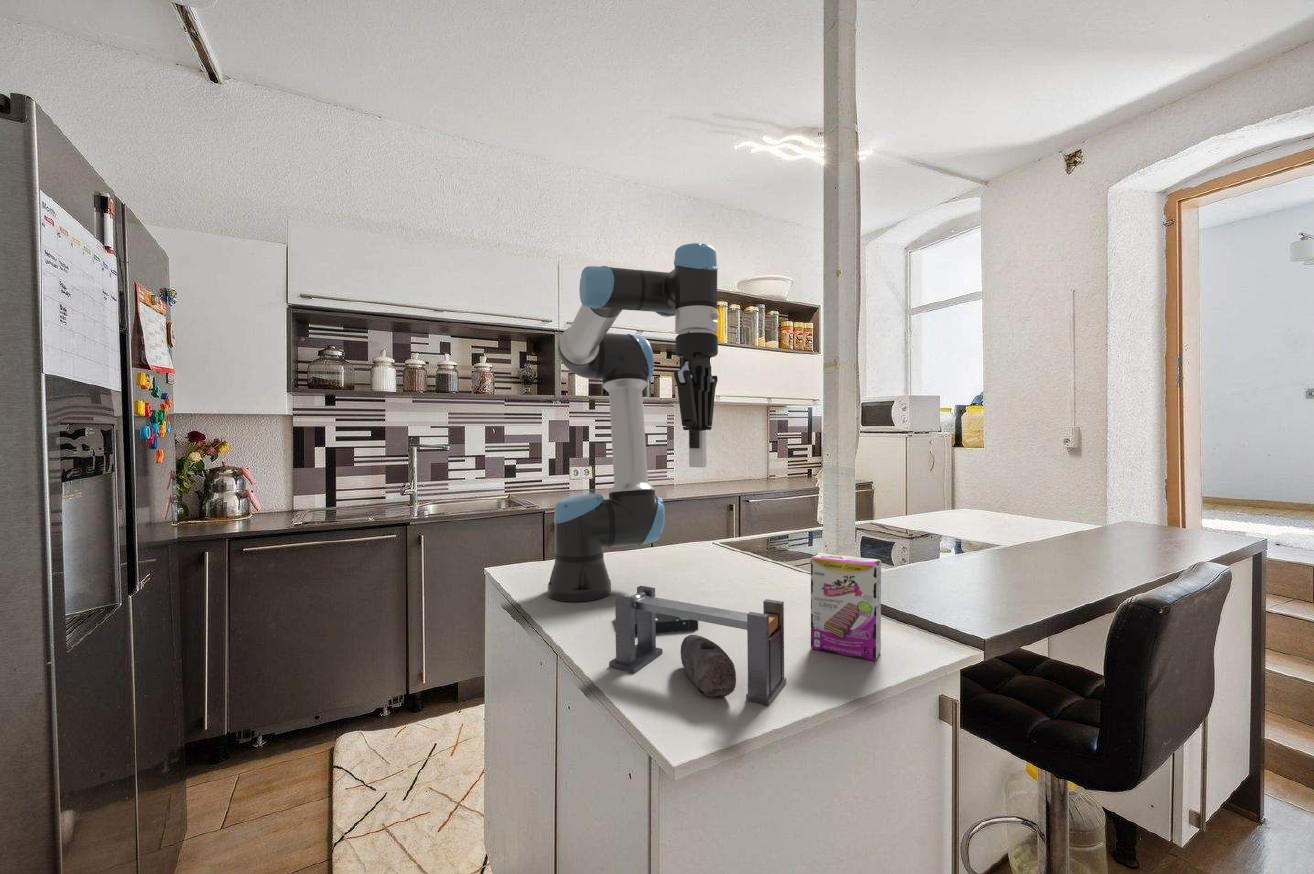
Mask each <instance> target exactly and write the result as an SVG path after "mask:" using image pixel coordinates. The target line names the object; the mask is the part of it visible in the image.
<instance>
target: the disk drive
mask: <svg viewBox="0 0 1314 874" xmlns="http://www.w3.org/2000/svg"><path fill="white" fill-rule="evenodd" d="M655 622H656V634H666V633H667V634H668V633H678V632H679V633H680V632H688V631H689V632H691V631H698V630H699V621H697V620H692V619H686V618H681V617H676V616H671V615H665V614H660V613H655ZM635 636H637V609H635Z"/></svg>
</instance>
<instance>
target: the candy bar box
mask: <svg viewBox="0 0 1314 874" xmlns="http://www.w3.org/2000/svg"><path fill="white" fill-rule="evenodd" d="M881 596H882V560H881V559H877V558H876V559H875V558H869V557H859V556H853V555H852V556H851V555H842V554H833V553H824V552H817V553H815V554H814V555H812V556H811V558H810V648H811V649H813V650H816V651H817V650H818V651H823V652H828V653H832V654H838V655H843V656H848V657H852V658H858V659H862V660H863V659H864V660H868V661H873V662H876V661H877V659H878V657H879V655H880V653H881V651H882V650H881V649H882V641H881V640H882V638H881V636H882V634H881V632H882V631H881V630H882V627H881V626H882V619H881V618H882V617H881V616H882V615H881V613H882V609H881V608H882V606H881V605H882V602H881V600H882V599H881V598H882V597H881Z"/></svg>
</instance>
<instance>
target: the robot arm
mask: <svg viewBox="0 0 1314 874" xmlns="http://www.w3.org/2000/svg"><path fill="white" fill-rule="evenodd" d="M717 261H718V259H717V251H716V249H715V248H714V247H713V246H712V245H710V244H706V243H700V242H695V243H694V242H693V243H691V242H690V243H686V244H683V245H680V246H679V247H677V248H676V249H675V253H674V261H673V265H674V269H672V270H671V271H669V272H664V271H656V270H655V271H654V270H645V269H644V270H642V269H633V268H632V269H631V268H620V267H611V266H608V265H600V266H599V265H598V266H596V265H589V266H586V267H584V268H583V269H582V271H581V274H580V279H579V290H578V291H579V299H580V303H581V305H580V307H579V309H578V311H577V312H576V313H577V314H575V315H576V316H574V319H573V321H572V323H571V326H570V327H568V328H565V330H564V331H563V332H562V333H561V336H560V338H559V339H558V344H557V353H558V357H559V359H560V361H561V363H563V365H564V366H565V367H566V368H567V369H568V370H569V371H570V372H571V373H573V374H574V375H576V376H578V377H581V378H585V379H591V380H602V388H603V389H604V390H605V391H607V393H608V395H609V397H608V398H609V413H610V431H611V434H610V435H611V449H612V465H613V466H612V467H613V468H612V469H613V484H614V485H613V487H612V488H611V489H610V490H609V491H608V498H606V499H604V496H603V495H602V494H601V493H585V494H579V495H578V494H576V495H573V496H569V497H565V498H563V499H560V500H559V501H557V502H556V504H555V506H554V514H553V515H554V516H553V517H554V518H553V523H554V564H553V568H552V571H551V573H550V578H549V582H548V584H547V596H548V597H549V598H551V599H553V600H556V601H560V602H570V603H571V602H573V603H575V602H576V603H577V602H589V601H595V600H599V599H602V598H605V597H608V596H609V595H610V594H611V593H612V580H611V579H610V576H609V573H608V570H607V566H606V563H605V559H604V557H605V556H604V549H605V548H613V547H626V546H642V545H646V544H653V543H655V542H657V541H658V540H659V539H660V537H661V535H662V532H663V530H664V525H665V519H666V518H665V516H666V515H665V513H666V511H665V509H666V508H665V504H664V501H663V499H662V497H660V496H658V495H656V491H655V488H654V487H653V486H652V485H651V484H650V483H649V475H648V459H647V458H648V457H647V446H646V443H647V442H646V431H645V417H644V416H645V414H644V413H645V412H644V400H643V399H644V398H643V391H644V389H645V388H646V387H647V386H648V381H649V380H650V379H652V377H653V375H654V366H655V359H654V352H653V349H652V345H651V344H650V342H649V341H648V340H647V338H646V337H644V336H641V335H634V334H630V333H626V334H619V333H608V332H609V330H610V329H611V327H612V325H613V324H614V323H615V321H616V320H617V318H618V317H619V315H620V314H621V312H622V311H638V312H639V311H640V312H650V313H651V312H654V313H656V314H658V315H659V316H661V317H665V318H669V317H670V318H671V317H674V316H675V317H674V319H675V320H674V326H675V327H674V332H675V333H676V334H677V335H676V337H675V340H674V341H675V355H676V357H678V358H681V360H682V361H681V366H680V367H681V369H680V370H675V371H674V372H673V376H674V380H675V382H676V387H677V395H678V396H677V397H678V405H679V411H680V412H679V413H680V419H681V426H682V430H684V431H688V467H689V468H706V467H707V431H711V430H712V427H713V421H714V419H713V418H714V417H713V416H714V408H715V407H714V406H715V396H716V387H717V383H718V375H712V365H711V364H712V363H711V359H712V358H714V357H716V356H717V355H718V354H719V353H718V352H719V343H718V342H719V341H718V339H719V337H718V336H717V334H716V333H717V332H718V319H719V318H720V314H719V313H718V270H719V267H718V264H717Z"/></svg>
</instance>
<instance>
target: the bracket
mask: <svg viewBox="0 0 1314 874" xmlns="http://www.w3.org/2000/svg"><path fill="white" fill-rule="evenodd" d="M639 592H645V593H646V594H647V596H650V597H656V588H655V587H652V586H651V587H650V586H645V585H638V586H637V587H636V594H637V593H639ZM614 601H615V603H614V604H615V606H614V608H615V611H614V612H615V613H614V614H615V657H614V658H613V659H611V660H610V661H609V662H608V667H609V668H612V669H617V670H619V671H623V672H628V673H631V674H636V673H637V672H638V671H640V670H641V669H643V668H644V667H646V666H647V665H648V664H650V663H651V662H653V661H654V660H655V659H657V658H658V657H660V656H661V655H663V652H664V651H663V648H660V647H657V644H656V643H657V642H656V641H657V640H656V639H657V638H656V637H657V636H656V634H657V633H656V622H655V612H649V611H644V610H639V609H637V635H635V598H631V596H626V595H625V596H624V595H620V594H619V595H617V596H616V597H615V599H614ZM636 636H637V644H636Z"/></svg>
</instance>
